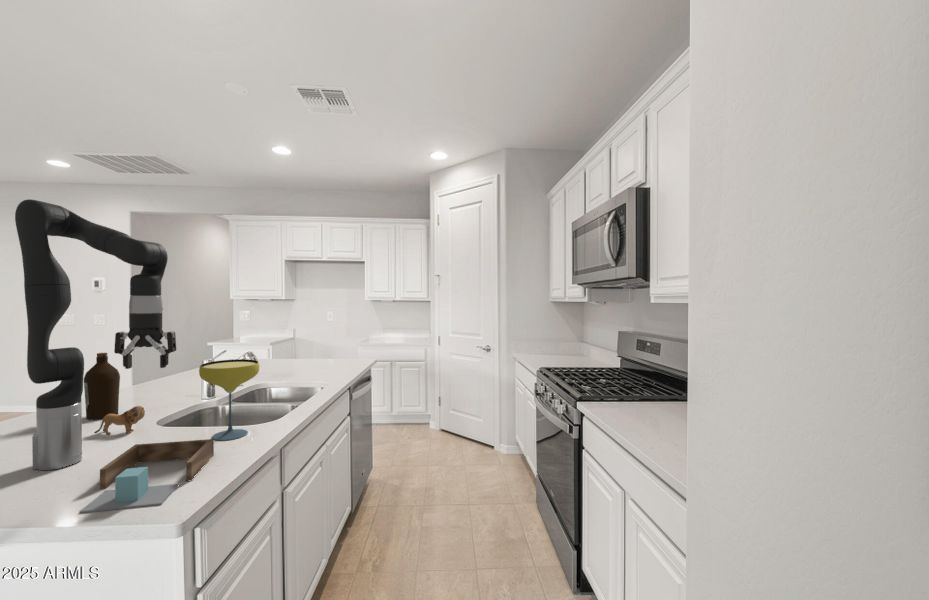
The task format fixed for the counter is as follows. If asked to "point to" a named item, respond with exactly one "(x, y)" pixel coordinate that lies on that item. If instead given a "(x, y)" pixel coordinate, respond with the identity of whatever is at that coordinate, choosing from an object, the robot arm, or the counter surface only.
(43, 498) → the counter surface
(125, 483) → the teal block
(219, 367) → the cocktail glass
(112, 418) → the lion figurine
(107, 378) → the olive oil
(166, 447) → the open-front crate
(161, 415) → the counter surface
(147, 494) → the rubber mat
